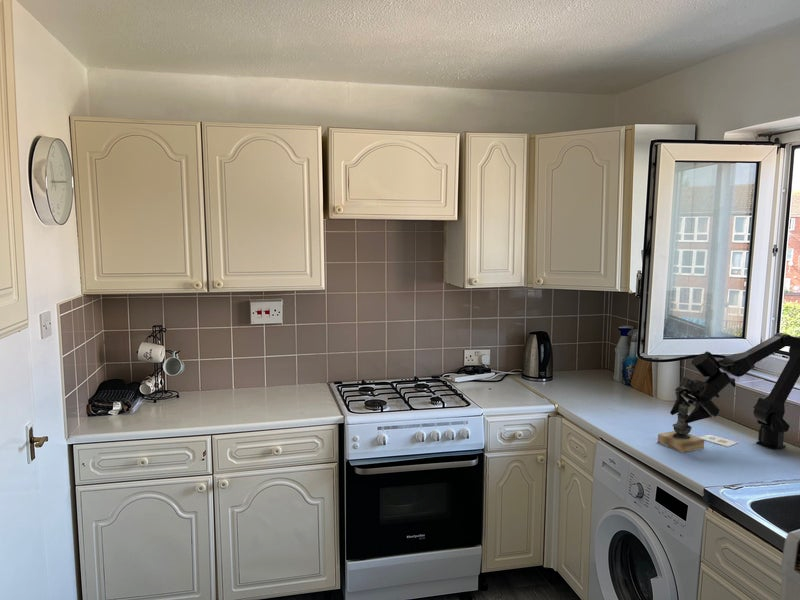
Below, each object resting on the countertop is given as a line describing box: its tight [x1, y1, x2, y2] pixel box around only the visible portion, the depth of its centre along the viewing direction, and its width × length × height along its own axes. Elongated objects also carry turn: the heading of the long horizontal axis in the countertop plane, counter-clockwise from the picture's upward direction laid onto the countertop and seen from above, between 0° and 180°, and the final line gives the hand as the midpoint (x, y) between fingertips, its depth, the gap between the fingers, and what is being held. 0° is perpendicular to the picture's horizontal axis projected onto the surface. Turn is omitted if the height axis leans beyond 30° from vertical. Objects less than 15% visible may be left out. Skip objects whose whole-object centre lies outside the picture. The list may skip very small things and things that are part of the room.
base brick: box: [657, 430, 705, 453], centre depth 195 cm, size 10×10×3 cm
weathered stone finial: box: [672, 402, 693, 439], centre depth 195 cm, size 6×6×12 cm
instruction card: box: [698, 434, 739, 448], centre depth 200 cm, size 10×7×1 cm
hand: (678, 418), depth 194 cm, fingers open, 9 cm apart
